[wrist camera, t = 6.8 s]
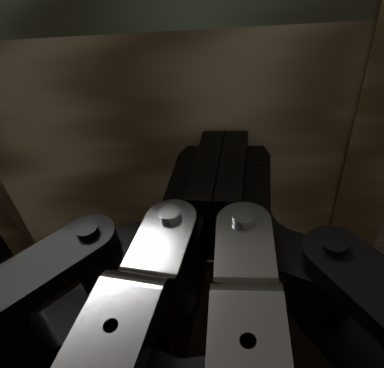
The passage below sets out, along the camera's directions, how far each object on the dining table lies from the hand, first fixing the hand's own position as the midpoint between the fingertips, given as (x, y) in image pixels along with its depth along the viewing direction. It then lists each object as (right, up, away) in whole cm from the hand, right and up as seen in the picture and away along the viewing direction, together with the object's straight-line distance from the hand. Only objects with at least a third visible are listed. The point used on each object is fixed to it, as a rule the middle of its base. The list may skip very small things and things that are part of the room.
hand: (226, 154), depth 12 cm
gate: (-2, -4, +5) cm, 7 cm away
